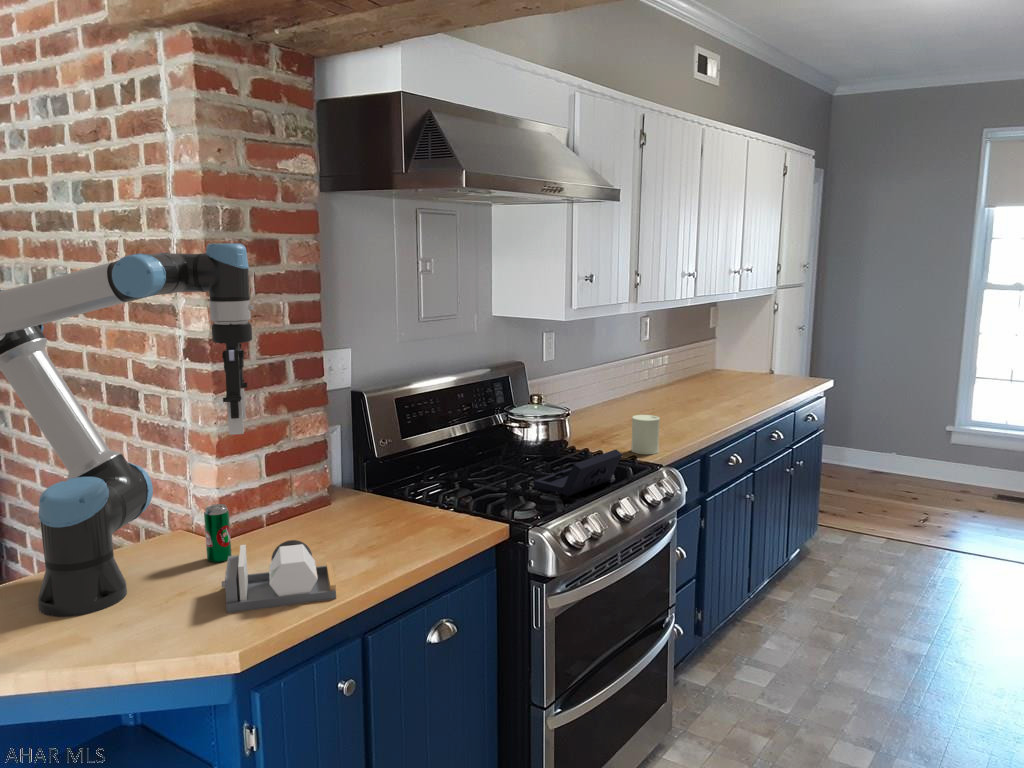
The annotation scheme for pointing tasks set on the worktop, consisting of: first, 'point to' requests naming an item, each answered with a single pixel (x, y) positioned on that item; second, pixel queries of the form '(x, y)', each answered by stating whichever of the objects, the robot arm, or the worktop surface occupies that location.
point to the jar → (292, 569)
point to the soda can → (217, 533)
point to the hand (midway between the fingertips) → (237, 426)
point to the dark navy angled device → (581, 475)
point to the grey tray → (263, 593)
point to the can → (645, 434)
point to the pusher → (242, 574)
